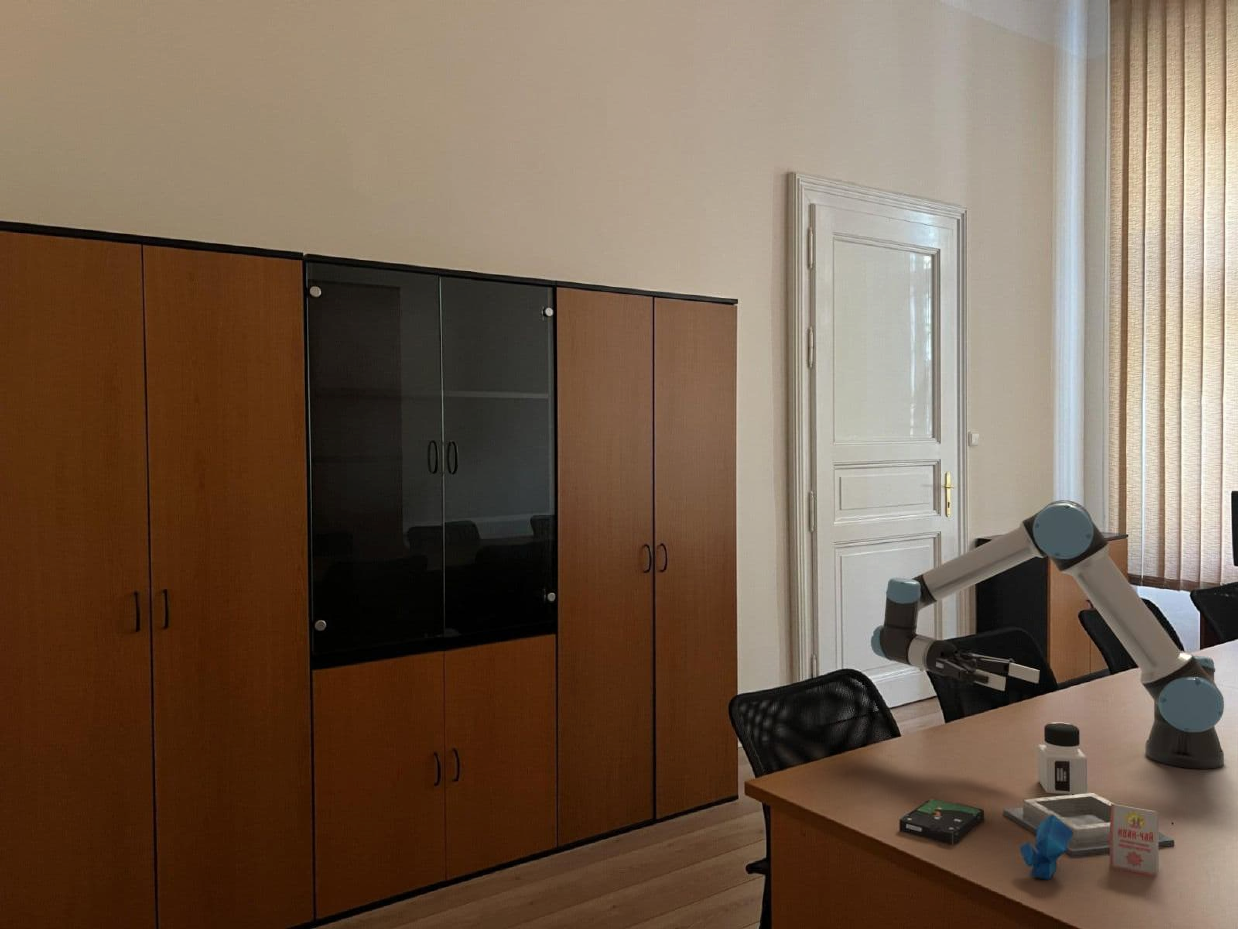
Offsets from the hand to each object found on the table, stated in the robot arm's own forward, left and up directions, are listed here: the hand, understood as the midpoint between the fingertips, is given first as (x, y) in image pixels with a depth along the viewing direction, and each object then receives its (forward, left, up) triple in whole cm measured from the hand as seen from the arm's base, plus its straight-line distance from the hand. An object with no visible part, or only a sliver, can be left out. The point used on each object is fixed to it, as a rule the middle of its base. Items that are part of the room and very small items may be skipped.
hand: (1021, 680), depth 208 cm
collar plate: (+7, +28, -20) cm, 35 cm away
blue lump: (+25, +42, -21) cm, 53 cm away
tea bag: (+10, +44, -21) cm, 50 cm away
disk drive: (+31, +20, -21) cm, 42 cm away
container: (-3, +8, -21) cm, 22 cm away
